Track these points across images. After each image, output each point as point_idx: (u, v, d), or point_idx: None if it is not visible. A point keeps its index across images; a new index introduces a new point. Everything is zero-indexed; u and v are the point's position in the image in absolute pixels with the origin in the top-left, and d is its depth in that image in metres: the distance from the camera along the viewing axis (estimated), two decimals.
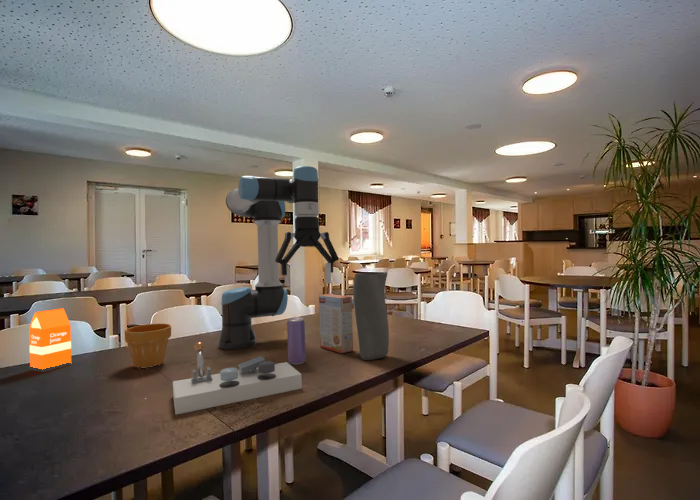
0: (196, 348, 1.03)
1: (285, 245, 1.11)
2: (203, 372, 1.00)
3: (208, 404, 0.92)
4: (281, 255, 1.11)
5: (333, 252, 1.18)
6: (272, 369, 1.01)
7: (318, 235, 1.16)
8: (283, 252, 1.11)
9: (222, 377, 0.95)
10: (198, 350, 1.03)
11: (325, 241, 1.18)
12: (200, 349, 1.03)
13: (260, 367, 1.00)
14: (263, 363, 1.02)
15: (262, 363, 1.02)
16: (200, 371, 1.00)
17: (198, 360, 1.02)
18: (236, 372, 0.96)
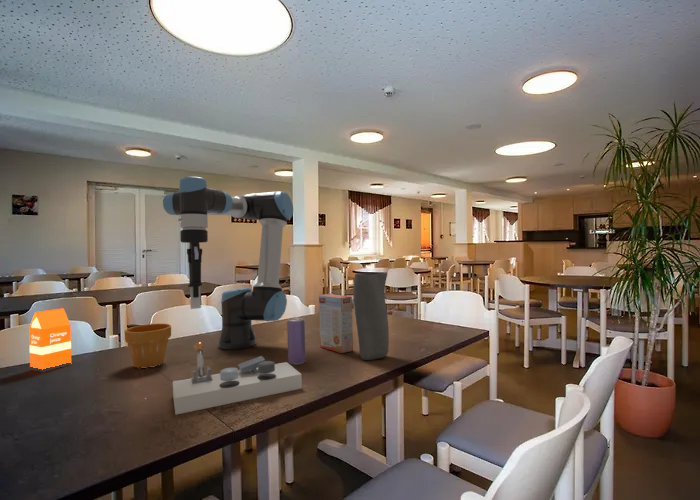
0: (196, 348, 1.03)
1: (189, 265, 1.14)
2: (203, 372, 1.00)
3: (208, 404, 0.92)
4: (189, 276, 1.13)
5: (191, 275, 1.07)
6: (272, 369, 1.01)
7: (191, 248, 1.07)
8: (189, 272, 1.13)
9: (222, 377, 0.95)
10: (198, 350, 1.03)
11: None
12: (200, 349, 1.03)
13: (260, 367, 1.00)
14: (263, 363, 1.02)
15: (262, 363, 1.02)
16: (200, 371, 1.00)
17: (198, 360, 1.02)
18: (236, 372, 0.96)
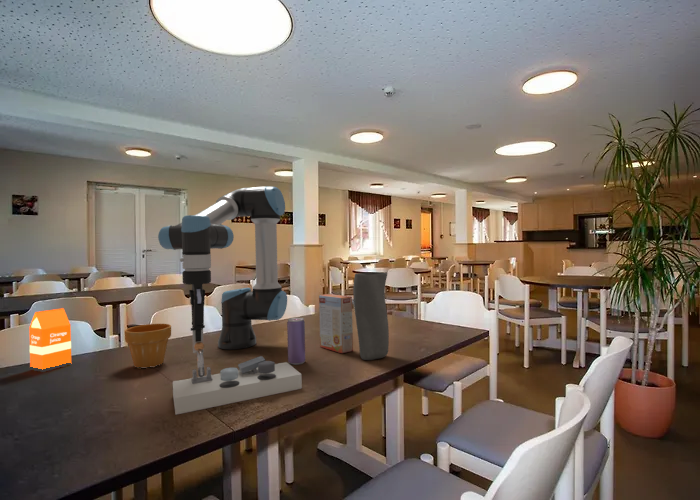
0: (196, 348, 1.03)
1: (191, 306, 1.09)
2: (203, 372, 1.00)
3: (208, 404, 0.92)
4: None
5: (194, 319, 1.02)
6: (272, 369, 1.01)
7: (194, 291, 1.02)
8: None
9: (222, 377, 0.95)
10: (198, 350, 1.03)
11: None
12: (200, 349, 1.03)
13: (260, 367, 1.00)
14: (263, 363, 1.02)
15: (262, 363, 1.02)
16: (200, 371, 1.00)
17: (198, 360, 1.02)
18: (236, 372, 0.96)
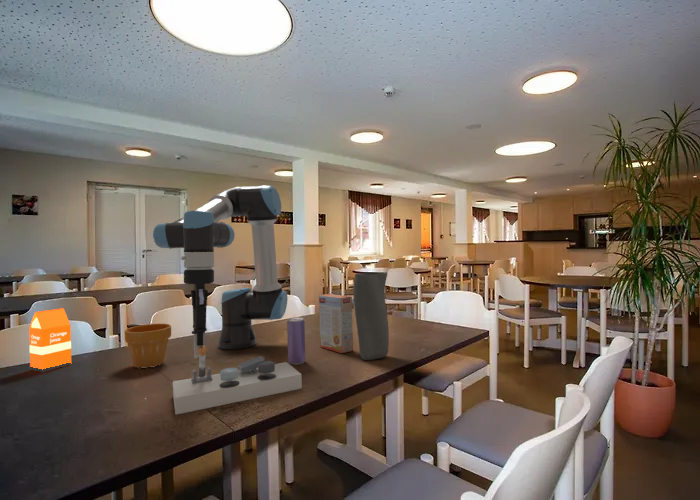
0: (199, 355, 0.96)
1: None
2: (203, 375, 0.99)
3: (208, 404, 0.92)
4: (193, 319, 1.01)
5: (195, 321, 0.95)
6: (272, 369, 1.01)
7: (196, 292, 0.95)
8: (193, 315, 1.01)
9: (222, 377, 0.95)
10: (201, 356, 0.97)
11: None
12: (203, 356, 0.97)
13: (260, 367, 1.00)
14: (263, 363, 1.02)
15: (262, 363, 1.02)
16: (201, 375, 0.99)
17: (200, 365, 0.98)
18: (236, 372, 0.96)
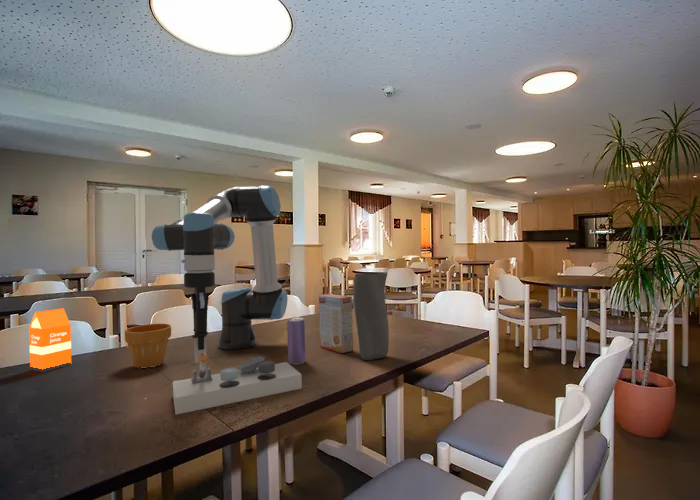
0: (200, 362, 0.95)
1: (193, 311, 1.01)
2: (204, 376, 0.99)
3: (208, 404, 0.92)
4: None
5: (196, 325, 0.94)
6: (272, 369, 1.01)
7: (196, 295, 0.94)
8: None
9: (222, 377, 0.95)
10: (202, 363, 0.95)
11: None
12: (204, 363, 0.95)
13: (260, 367, 1.00)
14: (263, 363, 1.02)
15: (262, 363, 1.02)
16: (201, 376, 0.99)
17: (200, 369, 0.97)
18: (236, 372, 0.96)
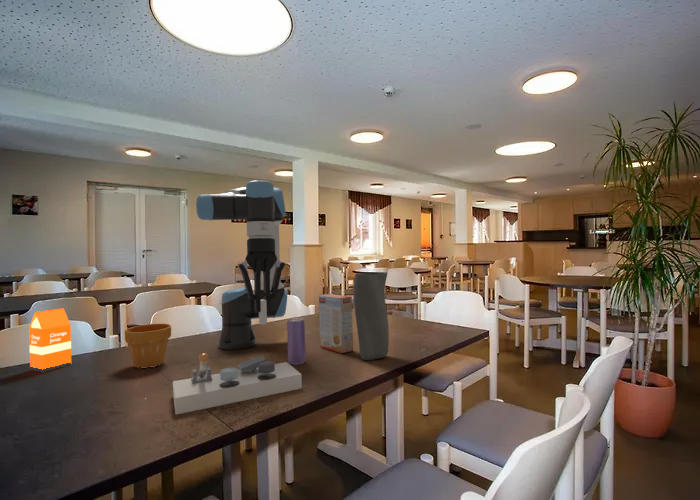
0: (200, 362, 0.95)
1: (246, 278, 0.98)
2: (204, 376, 0.99)
3: (208, 404, 0.92)
4: (250, 290, 0.99)
5: (275, 286, 1.02)
6: (272, 369, 1.01)
7: (274, 258, 1.02)
8: (249, 286, 0.99)
9: (222, 377, 0.95)
10: (202, 363, 0.95)
11: (276, 270, 1.03)
12: (204, 363, 0.95)
13: (260, 367, 1.00)
14: (263, 363, 1.02)
15: (262, 363, 1.02)
16: (201, 376, 0.99)
17: (200, 369, 0.97)
18: (236, 372, 0.96)
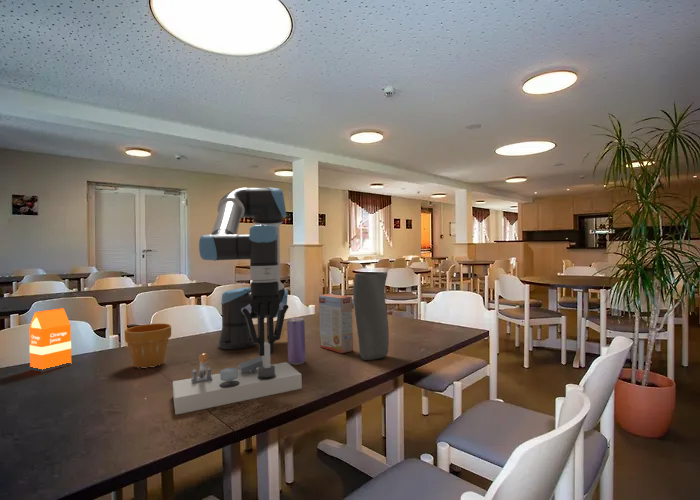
0: (200, 362, 0.95)
1: (250, 323, 0.99)
2: (204, 376, 0.99)
3: (208, 404, 0.92)
4: (253, 334, 0.99)
5: (279, 329, 1.02)
6: (272, 373, 1.01)
7: (277, 301, 1.02)
8: (253, 330, 0.99)
9: (222, 377, 0.95)
10: (202, 363, 0.95)
11: (279, 313, 1.03)
12: (204, 363, 0.95)
13: (260, 371, 1.00)
14: (263, 367, 1.02)
15: (262, 367, 1.02)
16: (201, 376, 0.99)
17: (200, 369, 0.97)
18: (236, 372, 0.96)
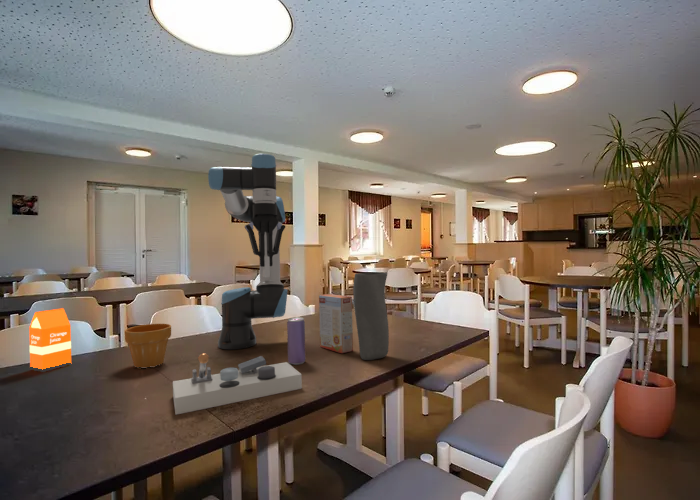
0: (200, 362, 0.95)
1: (252, 237, 1.15)
2: (204, 376, 0.99)
3: (208, 404, 0.92)
4: (255, 247, 1.16)
5: (277, 245, 1.19)
6: (272, 374, 1.01)
7: (276, 221, 1.19)
8: (255, 244, 1.16)
9: (222, 377, 0.95)
10: (202, 363, 0.95)
11: (277, 232, 1.20)
12: (204, 363, 0.95)
13: (260, 372, 1.00)
14: (263, 368, 1.02)
15: (262, 368, 1.02)
16: (201, 376, 0.99)
17: (200, 369, 0.97)
18: (236, 372, 0.96)
